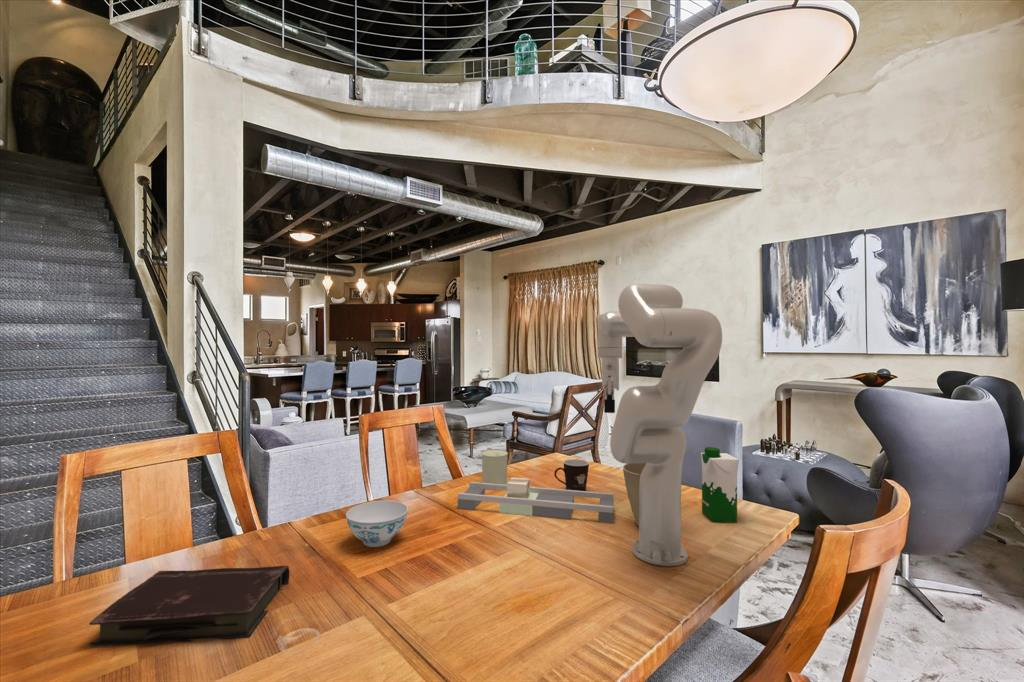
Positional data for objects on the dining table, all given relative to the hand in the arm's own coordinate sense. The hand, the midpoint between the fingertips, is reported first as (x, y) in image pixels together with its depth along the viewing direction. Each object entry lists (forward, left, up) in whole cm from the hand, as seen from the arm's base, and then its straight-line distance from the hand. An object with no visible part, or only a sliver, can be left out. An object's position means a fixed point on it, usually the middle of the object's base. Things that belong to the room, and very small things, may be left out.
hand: (609, 412), depth 140 cm
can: (+10, +40, -29) cm, 50 cm away
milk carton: (-2, -31, -29) cm, 43 cm away
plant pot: (-13, -11, -29) cm, 34 cm away
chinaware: (-40, +57, -29) cm, 75 cm away
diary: (-75, +73, -30) cm, 109 cm away
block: (-8, +27, -26) cm, 38 cm away
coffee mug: (+10, +13, -29) cm, 33 cm away
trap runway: (-8, +22, -29) cm, 37 cm away
